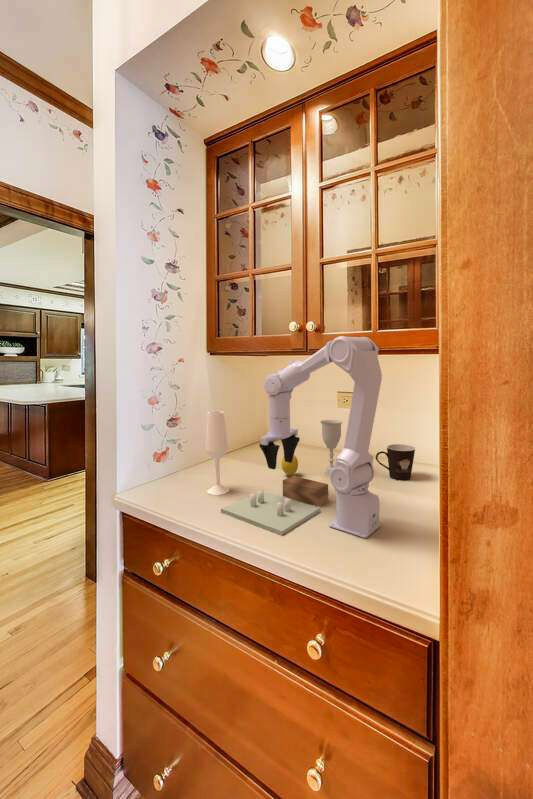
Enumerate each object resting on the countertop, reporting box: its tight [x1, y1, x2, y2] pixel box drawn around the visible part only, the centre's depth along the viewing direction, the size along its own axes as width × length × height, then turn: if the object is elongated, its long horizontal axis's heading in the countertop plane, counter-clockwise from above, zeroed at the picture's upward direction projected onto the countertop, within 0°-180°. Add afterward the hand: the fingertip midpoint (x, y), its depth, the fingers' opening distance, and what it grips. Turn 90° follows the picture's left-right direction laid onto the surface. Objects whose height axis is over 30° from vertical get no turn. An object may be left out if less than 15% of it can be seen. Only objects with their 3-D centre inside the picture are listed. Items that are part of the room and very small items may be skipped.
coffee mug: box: [375, 443, 416, 482], centre depth 120 cm, size 12×9×10 cm
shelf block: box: [282, 475, 329, 507], centre depth 103 cm, size 12×5×5 cm, turn 50°
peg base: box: [220, 490, 321, 536], centre depth 95 cm, size 20×16×4 cm
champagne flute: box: [205, 410, 230, 496], centre depth 109 cm, size 7×7×24 cm
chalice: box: [320, 419, 343, 477], centre depth 123 cm, size 7×7×18 cm
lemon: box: [281, 454, 299, 477], centre depth 123 cm, size 6×6×8 cm
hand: (280, 465), depth 103 cm, fingers open, 7 cm apart
